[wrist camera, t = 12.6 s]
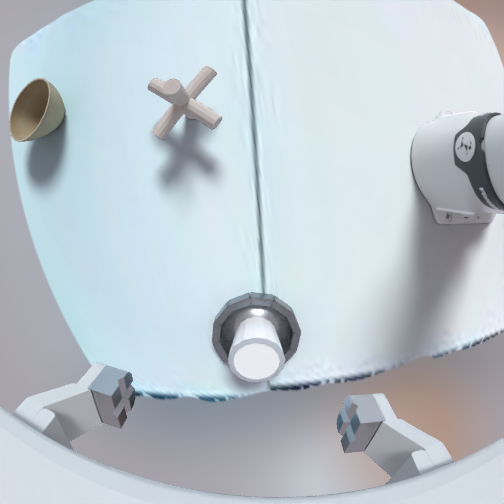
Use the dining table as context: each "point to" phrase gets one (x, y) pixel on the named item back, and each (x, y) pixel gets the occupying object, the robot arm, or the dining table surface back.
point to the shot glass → (256, 351)
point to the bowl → (256, 307)
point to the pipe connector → (184, 102)
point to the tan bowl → (36, 111)
